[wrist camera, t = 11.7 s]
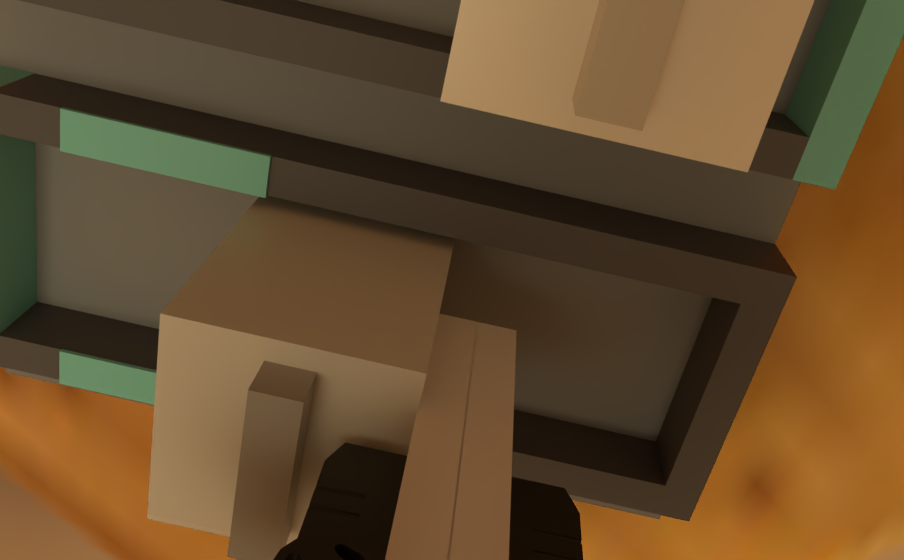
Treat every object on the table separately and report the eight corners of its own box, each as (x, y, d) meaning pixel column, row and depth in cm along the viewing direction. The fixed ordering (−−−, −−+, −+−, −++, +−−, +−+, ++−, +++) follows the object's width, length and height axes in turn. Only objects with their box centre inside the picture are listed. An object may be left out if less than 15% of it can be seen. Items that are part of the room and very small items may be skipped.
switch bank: (19, -503, 14) (-96, -588, 12) (962, -275, 14) (1059, -309, 12) (32, 347, 22) (-37, 412, 19) (653, 487, 22) (669, 570, 19)
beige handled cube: (272, 180, 18) (136, 340, 12) (458, 223, 18) (420, 404, 12) (253, 340, 19) (126, 552, 13) (422, 379, 20) (372, 608, 13)
